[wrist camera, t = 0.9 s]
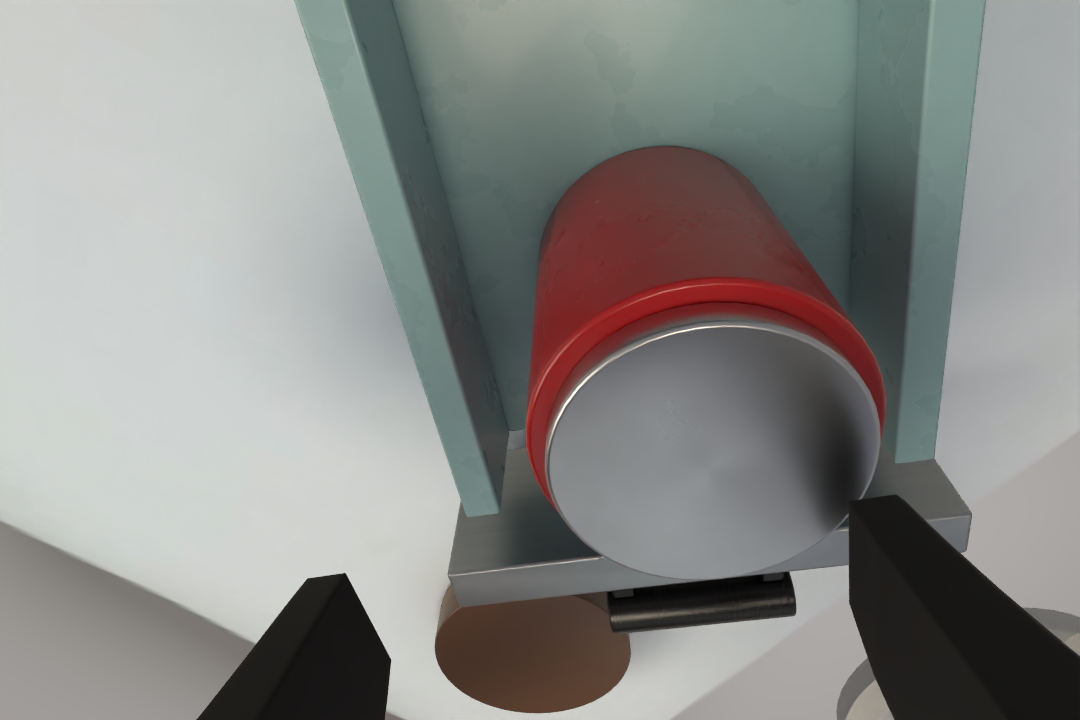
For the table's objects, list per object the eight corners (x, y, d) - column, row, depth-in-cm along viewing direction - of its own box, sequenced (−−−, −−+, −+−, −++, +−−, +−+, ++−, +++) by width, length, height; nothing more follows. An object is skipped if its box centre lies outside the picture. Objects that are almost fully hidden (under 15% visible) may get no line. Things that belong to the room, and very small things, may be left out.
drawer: (883, 534, 22) (950, 663, 18) (506, 577, 23) (495, 705, 19) (956, -506, 11) (1171, -737, 7) (231, -300, 12) (80, -399, 8)
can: (826, 234, 15) (990, 431, 10) (671, 397, 18) (726, 638, 12) (634, 92, 14) (687, 219, 8) (494, 289, 16) (454, 500, 10)
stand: (665, 604, 25) (671, 641, 24) (557, 697, 28) (557, 735, 26) (505, 523, 23) (501, 558, 22) (407, 631, 26) (399, 668, 25)
